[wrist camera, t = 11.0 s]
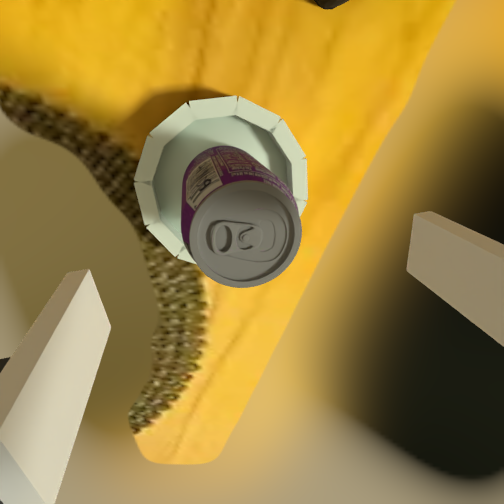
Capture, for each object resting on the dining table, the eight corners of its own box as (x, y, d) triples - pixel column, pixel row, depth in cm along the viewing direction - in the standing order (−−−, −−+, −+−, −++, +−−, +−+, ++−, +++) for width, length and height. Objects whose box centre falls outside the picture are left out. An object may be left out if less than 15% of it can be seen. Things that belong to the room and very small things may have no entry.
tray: (120, 109, 25) (114, 109, 23) (294, 89, 27) (304, 88, 24) (161, 267, 31) (159, 280, 29) (300, 243, 33) (309, 253, 30)
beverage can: (183, 226, 29) (182, 298, 18) (180, 143, 26) (176, 170, 15) (261, 224, 30) (302, 291, 20) (266, 145, 27) (317, 172, 17)
